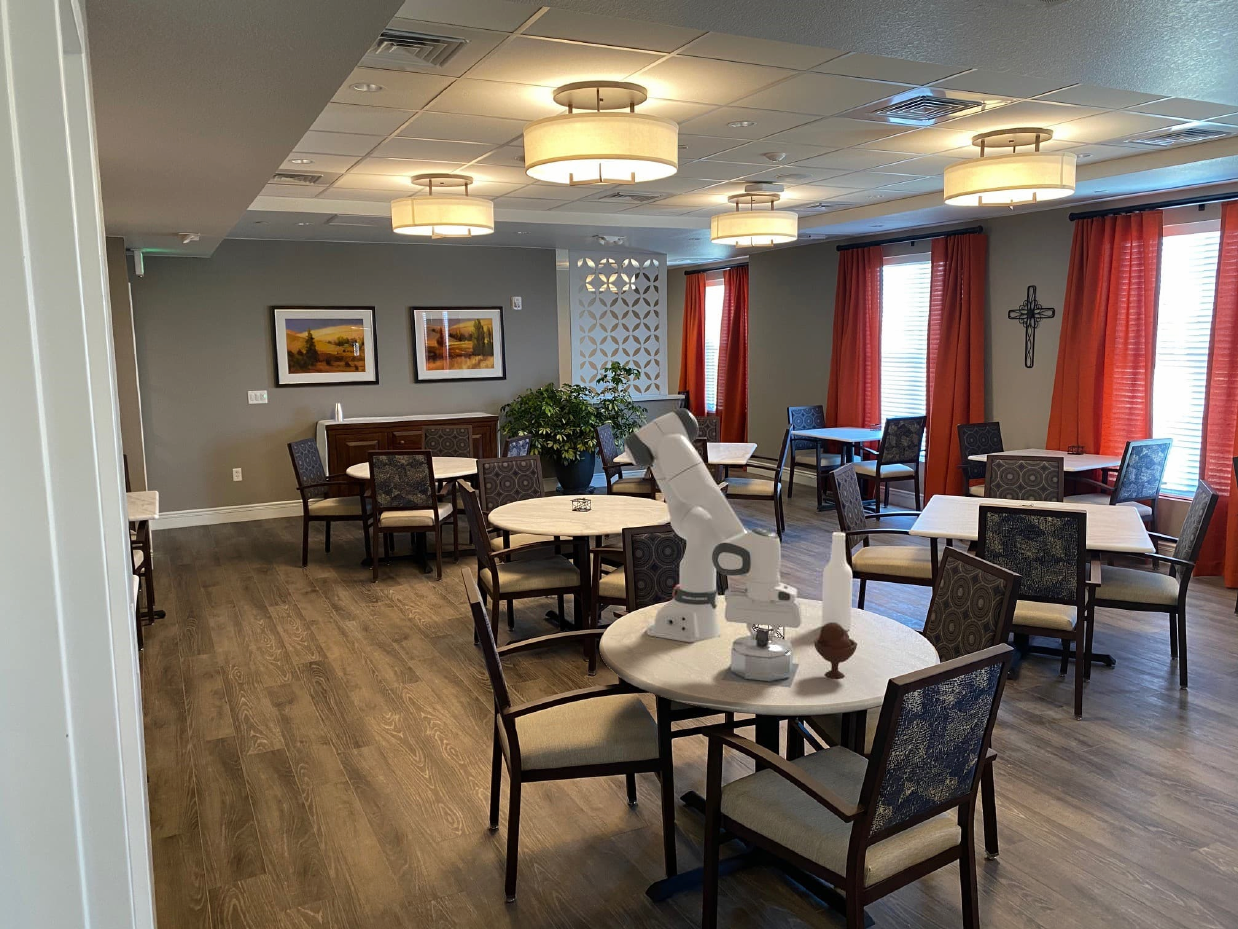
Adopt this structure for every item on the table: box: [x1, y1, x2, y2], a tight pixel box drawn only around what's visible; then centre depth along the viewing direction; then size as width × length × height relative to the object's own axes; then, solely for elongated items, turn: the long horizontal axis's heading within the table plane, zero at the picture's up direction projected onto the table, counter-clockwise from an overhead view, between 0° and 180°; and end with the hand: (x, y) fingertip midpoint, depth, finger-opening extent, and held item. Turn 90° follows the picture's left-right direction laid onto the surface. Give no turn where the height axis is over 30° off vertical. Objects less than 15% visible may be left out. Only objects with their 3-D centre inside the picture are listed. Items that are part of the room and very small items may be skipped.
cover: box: [730, 627, 794, 681], centre depth 242 cm, size 16×16×11 cm
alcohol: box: [821, 531, 853, 632], centre depth 280 cm, size 9×9×30 cm
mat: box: [721, 662, 800, 688], centre depth 243 cm, size 18×18×1 cm
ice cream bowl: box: [813, 622, 858, 680], centre depth 239 cm, size 11×11×15 cm
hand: (762, 640), depth 242 cm, fingers closed on cover, 3 cm apart
